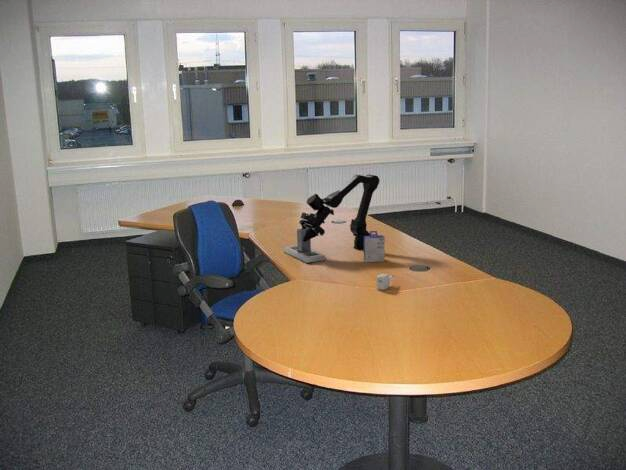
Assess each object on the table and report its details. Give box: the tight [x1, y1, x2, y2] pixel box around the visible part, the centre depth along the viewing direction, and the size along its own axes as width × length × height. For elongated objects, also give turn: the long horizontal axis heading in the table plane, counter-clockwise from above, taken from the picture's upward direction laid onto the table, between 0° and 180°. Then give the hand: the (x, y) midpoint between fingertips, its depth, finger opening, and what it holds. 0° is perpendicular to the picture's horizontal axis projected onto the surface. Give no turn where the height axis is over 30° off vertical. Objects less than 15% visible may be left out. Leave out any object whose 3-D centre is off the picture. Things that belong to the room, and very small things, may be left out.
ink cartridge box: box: [363, 230, 386, 263], centre depth 296 cm, size 10×6×14 cm, turn 95°
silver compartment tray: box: [283, 245, 326, 265], centre depth 308 cm, size 26×10×3 cm, turn 27°
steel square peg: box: [296, 228, 312, 253], centre depth 306 cm, size 5×5×12 cm
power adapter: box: [375, 272, 395, 291], centre depth 255 cm, size 11×5×6 cm, turn 150°
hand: (301, 240), depth 306 cm, fingers closed on steel square peg, 5 cm apart
